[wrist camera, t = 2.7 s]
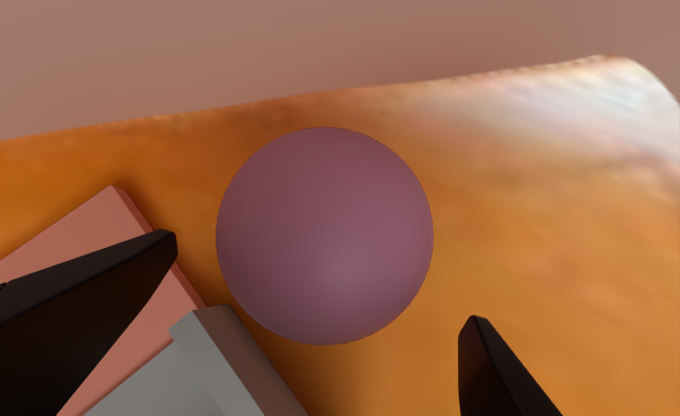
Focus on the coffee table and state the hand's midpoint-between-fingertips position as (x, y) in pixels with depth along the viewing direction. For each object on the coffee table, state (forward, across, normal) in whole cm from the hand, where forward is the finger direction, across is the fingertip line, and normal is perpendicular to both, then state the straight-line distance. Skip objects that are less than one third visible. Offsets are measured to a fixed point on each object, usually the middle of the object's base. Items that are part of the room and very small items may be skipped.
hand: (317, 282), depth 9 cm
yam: (+7, 0, +5) cm, 9 cm away
